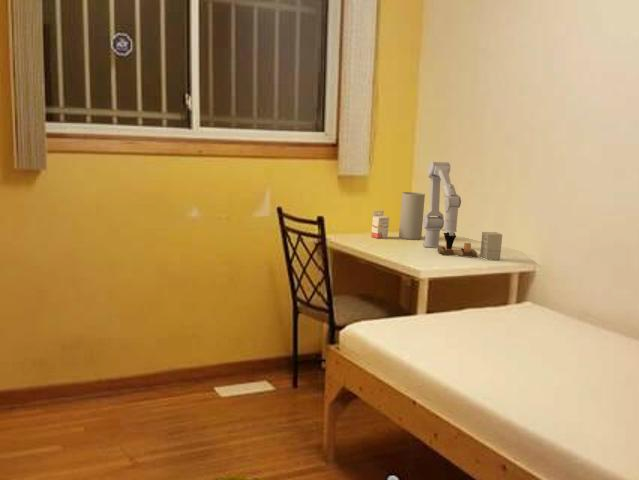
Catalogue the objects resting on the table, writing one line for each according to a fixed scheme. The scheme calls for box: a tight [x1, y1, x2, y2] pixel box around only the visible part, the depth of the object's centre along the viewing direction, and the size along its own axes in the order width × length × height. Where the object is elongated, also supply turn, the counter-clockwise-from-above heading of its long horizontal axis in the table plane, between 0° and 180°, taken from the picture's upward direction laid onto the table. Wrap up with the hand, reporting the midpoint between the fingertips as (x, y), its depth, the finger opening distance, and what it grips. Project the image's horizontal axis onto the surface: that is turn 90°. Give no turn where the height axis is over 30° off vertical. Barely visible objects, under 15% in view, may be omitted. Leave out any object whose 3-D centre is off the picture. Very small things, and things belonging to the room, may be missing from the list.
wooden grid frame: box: [436, 246, 478, 258], centre depth 333 cm, size 12×18×2 cm, turn 85°
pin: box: [463, 242, 472, 253], centre depth 330 cm, size 3×3×6 cm
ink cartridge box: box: [370, 210, 390, 239], centre depth 372 cm, size 9×5×15 cm, turn 133°
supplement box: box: [479, 231, 503, 260], centre depth 325 cm, size 7×7×13 cm
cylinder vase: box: [398, 191, 426, 241], centre depth 376 cm, size 12×12×25 cm
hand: (448, 248), depth 331 cm, fingers closed on loose pin, 3 cm apart
